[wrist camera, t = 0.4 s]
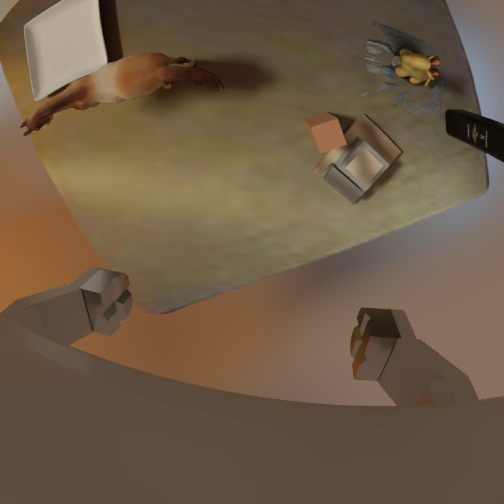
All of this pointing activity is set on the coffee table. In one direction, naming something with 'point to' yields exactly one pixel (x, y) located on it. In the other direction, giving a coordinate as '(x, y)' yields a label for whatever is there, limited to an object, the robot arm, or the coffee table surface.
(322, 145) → the pillar
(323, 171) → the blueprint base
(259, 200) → the coffee table surface
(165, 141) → the coffee table surface
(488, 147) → the wine bottle
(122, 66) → the horse figurine
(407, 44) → the stuffed giraffe
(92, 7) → the salad plate
